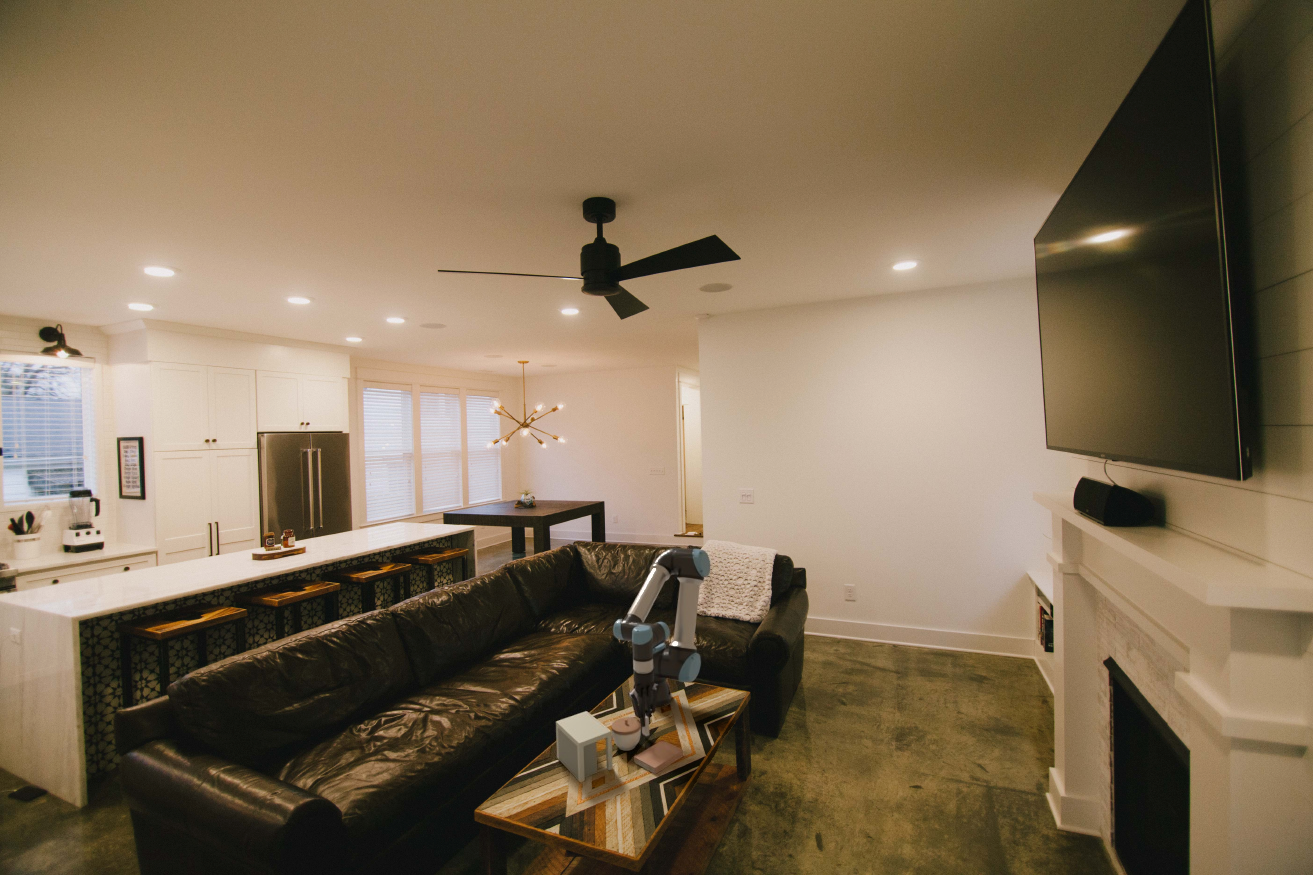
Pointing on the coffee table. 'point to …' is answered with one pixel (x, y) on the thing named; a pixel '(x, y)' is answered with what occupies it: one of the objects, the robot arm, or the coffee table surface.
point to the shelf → (582, 744)
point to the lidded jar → (626, 732)
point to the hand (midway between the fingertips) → (645, 733)
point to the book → (658, 756)
